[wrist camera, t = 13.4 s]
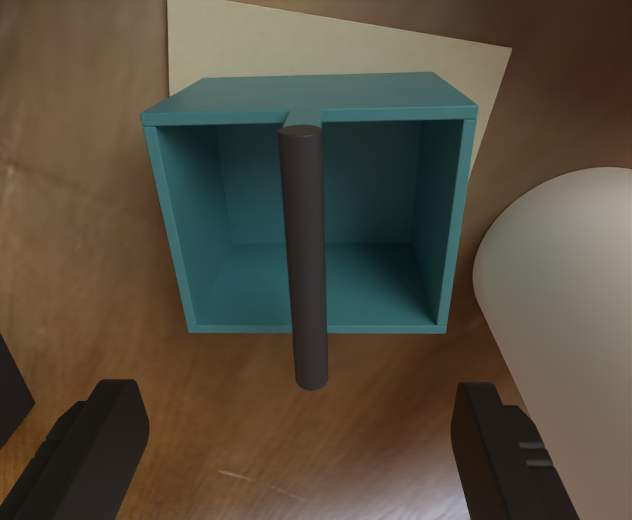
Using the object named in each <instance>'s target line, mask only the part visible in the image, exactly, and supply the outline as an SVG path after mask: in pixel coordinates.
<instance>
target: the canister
mask: <svg viewBox="0 0 632 520" xmlns="http://www.w3.org/2000/svg"><path fill="white" fill-rule="evenodd" d="M473 288H474V293H475V296H476V299H477V301H478V304H479V306H480V308H481V310H482V312H483V315H484V317H485V319H486V321H487V323H488V325H489V327H490V330H491V332H492V334H493V336H494V338H495V340H496V343H497V345H498V347H499V349H500V351H501V353H502V356H503V358H504V360H505V362H506V364H507V366H508V368H509V371H510V373H511V375H512V377H513V379H514V381H515V384H516V386H517V388H518V390H519V392H520V394H521V397H522V399H523V401H524V403H525V405H526V407H527V409H528V412H529V414H530V416H531V418H532V420H533V422H534V423H535V425H536V427H537V429H538V432H539V434H540V436H541V438H542V440H543V442H544V444H545V448H546V449H547V451H548V453H549V455H550V457H551V459H552V461H553V466H554V467H555V468H556V470H557V472H558V474H559V476H560V478H561V480H562V482H563V485H564V487H565V489H566V491H567V493H568V495H569V497H570V499H571V502H572V504H573V506H574V508H575V510H576V512H577V514H578V516H579V519H580V520H632V169H626V168H618V167H598V168H589V169H583V170H578V171H574V172H570V173H567V174H564V175H561V176H558V177H555V178H553V179H551V180H548V181H546V182H544V183H542V184H540V185H538V186H536V187H535V188H533V189H531V190H530V191H528V192H527V193H525V194H524V195H522V196H521V197H519V198H518V199H517V200H516V201H514V202H513V203H512V204H511V205H510V206H509V207H507V208H506V209H505V210H504V211H503V212H502V213H501V214H500V216H499V217H498V218H497V219H496V220H495V221H494V223H493V224H492V225H491V227H490V228H489V230H488V231H487V233H486V234H485V236H484V238H483V240H482V242H481V244H480V246H479V248H478V251H477V254H476V257H475V261H474V266H473Z"/></svg>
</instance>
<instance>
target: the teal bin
mask: <svg viewBox="0 0 632 520" xmlns="http://www.w3.org/2000/svg"><path fill="white" fill-rule="evenodd" d="M478 110H479V105H477V104H476V103H475V102H473V101H472V100H471V99H469V98H468V97H466V96H465V95H464V94H462V93H461V92H460V91H458V90H457V89H456V88H454V87H453V86H451V85H450V84H449V83H447V82H446V81H445V80H443V79H442V78H441V77H439V76H438V75H437V74H435V73H434V72H403V73H367V74H331V75H294V76H258V77H222V78H202V79H200V80H198V81H197V82H195V83H193V84H191V85H190V86H188V87H186V88H184V89H182V90H181V91H179V92H177V93H175V94H174V95H172V96H170V97H168V98H167V99H165V100H163V101H161V102H159V103H158V104H156V105H154V106H152V107H151V108H149V109H147V110H145V111H144V112H142V113H140V117H141V122H142V125H143V126H144V127H143V131H144V135H145V140H146V144H147V149H148V153H149V158H150V162H151V166H152V171H153V175H154V180H155V184H156V189H157V193H158V198H159V202H160V207H161V211H162V216H163V220H164V225H165V229H166V234H167V238H168V243H169V247H170V252H171V256H172V261H173V265H174V270H175V274H176V279H177V283H178V288H179V292H180V297H181V301H182V305H183V310H184V314H185V319H186V323H187V328H188V332H189V333H292V335H293V349H294V362H295V376H296V382H297V384H298V385H299V386H300V387H301V388H303V389H305V390H311V391H312V390H318V389H320V388H322V387H324V386H325V385H326V383H327V381H328V343H327V333H358V334H445V333H446V328H447V326H446V325H447V321H448V314H449V307H450V301H451V294H452V287H453V280H454V273H455V267H456V260H457V253H458V246H459V239H460V233H461V226H462V219H463V212H464V205H465V198H466V192H467V185H468V178H469V171H470V164H471V158H472V151H473V144H474V137H475V130H476V124H477V116H478Z"/></svg>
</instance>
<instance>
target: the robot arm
mask: <svg viewBox="0 0 632 520" xmlns="http://www.w3.org/2000/svg"><path fill="white" fill-rule="evenodd" d="M148 437H149V419H148V416H147V413H146V410H145V407H144V404H143V401H142V397H141V394H140V391H139V388H138V385H137V383H136V381H135V380H133V379H103V380H101V381H100V382H99V383H98V384H97V385H96V387H95V388H94V390H93V392H92V393H91V395H90V396H89V398H88V400H87V401H78V402H77V403H75V404H74V405H73V406H72V407H71V408H70V409H69V410H67V411H66V412H65V413H64V414H63V415H62V416H60V417H59V418H58V420H57V421H56V423H55V425H54V426H53V428H52V429H51V431H50V432H49V434H48V435H47V437H46V441H45V442H43V443H42V444H41V446H40V447H39V449H38V450H37V452H36V453H35V457H34V458H32V459H31V461H30V462H29V464H28V465H27V467H26V468H25V470H24V471H23V473H22V474H21V476H20V477H19V479H18V480H17V482H16V483H15V485H14V486H13V488H12V489H11V491H10V492H9V494H8V495H7V497H6V498H5V500H4V501H3V503H2V504H1V506H0V520H115V518H116V516H117V513H118V511H119V508H120V506H121V504H122V501H123V499H124V497H125V494H126V492H127V490H128V487H129V485H130V483H131V480H132V478H133V476H134V473H135V471H136V468H137V466H138V464H139V461H140V459H141V457H142V454H143V452H144V450H145V447H146V445H147V441H148ZM451 442H452V449H453V453H454V457H455V461H456V464H457V468H458V472H459V476H460V480H461V484H462V487H463V491H464V495H465V499H466V503H467V507H468V510H469V514H470V518H471V520H580V519H579V516H578V514H577V512H576V510H575V508H574V506H573V504H572V502H571V499H570V497H569V495H568V493H567V491H566V489H565V487H564V485H563V482H562V480H561V478H560V476H559V474H558V472H557V470H556V468H555V467H554V466H553V461H552V459H551V457H550V455H549V453H548V451H547V449H545V444H544V442H543V440H542V438H541V436H540V434H539V432H538V429H537V427H536V425H535V423H534V422H533V421H532V420H531V419H530V418H529V417H528V416H527V415H526V414H525V413H524V412H523V411H522V410H521V409H520V408H519V407H518V406H517V405H503V404H502V402H501V399H500V397H499V395H498V392H497V390H496V388H495V386H494V384H493V383H491V382H460V383H459V384H458V388H457V393H456V399H455V405H454V410H453V416H452V421H451Z"/></svg>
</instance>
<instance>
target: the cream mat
mask: <svg viewBox="0 0 632 520" xmlns="http://www.w3.org/2000/svg"><path fill="white" fill-rule="evenodd" d="M167 18H168V63H169V97H170V96H172V95H174V94H175V93H177V92H179V91H181V90H182V89H184V88H186V87H188V86H190V85H191V84H193V83H195V82H197V81H198V80H200V79H202V78H222V77H258V76H294V75H331V74H367V73H403V72H434V73H435V74H437V75H438V76H439V77H441V78H442V79H443V80H445V81H446V82H447V83H449V84H450V85H451V86H453V87H454V88H456V89H457V90H458V91H460V92H461V93H462V94H464V95H465V96H466V97H468V98H469V99H471V100H472V101H473V102H475V103H476V104H477V105H479V110H478V116H477V124H476V130H475V137H474V144H473V151H472V158H471V164H470V171H469V177H470V174H471V171H472V168H473V165H474V162H475V159H476V156H477V153H478V150H479V147H480V144H481V141H482V138H483V135H484V132H485V129H486V126H487V123H488V120H489V117H490V114H491V111H492V108H493V105H494V102H495V99H496V96H497V93H498V90H499V87H500V84H501V81H502V78H503V75H504V72H505V69H506V66H507V63H508V60H509V57H510V54H511V51H512V48H510V47H504V46H498V45H492V44H486V43H480V42H474V41H468V40H462V39H456V38H449V37H443V36H437V35H431V34H425V33H419V32H413V31H407V30H401V29H395V28H389V27H383V26H377V25H371V24H365V23H359V22H353V21H347V20H341V19H335V18H329V17H323V16H317V15H311V14H305V13H299V12H293V11H287V10H281V9H275V8H269V7H263V6H257V5H250V4H244V3H238V2H232V1H226V0H167ZM468 180H469V178H468Z"/></svg>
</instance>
